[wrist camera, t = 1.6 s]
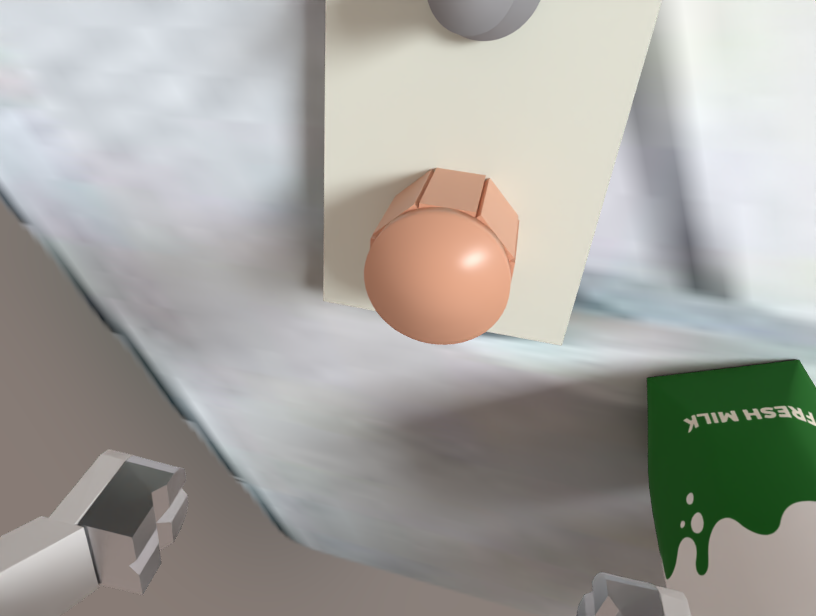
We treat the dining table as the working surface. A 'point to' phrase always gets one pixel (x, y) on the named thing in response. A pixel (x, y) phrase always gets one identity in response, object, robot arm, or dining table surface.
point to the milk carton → (736, 488)
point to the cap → (443, 258)
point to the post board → (480, 127)
